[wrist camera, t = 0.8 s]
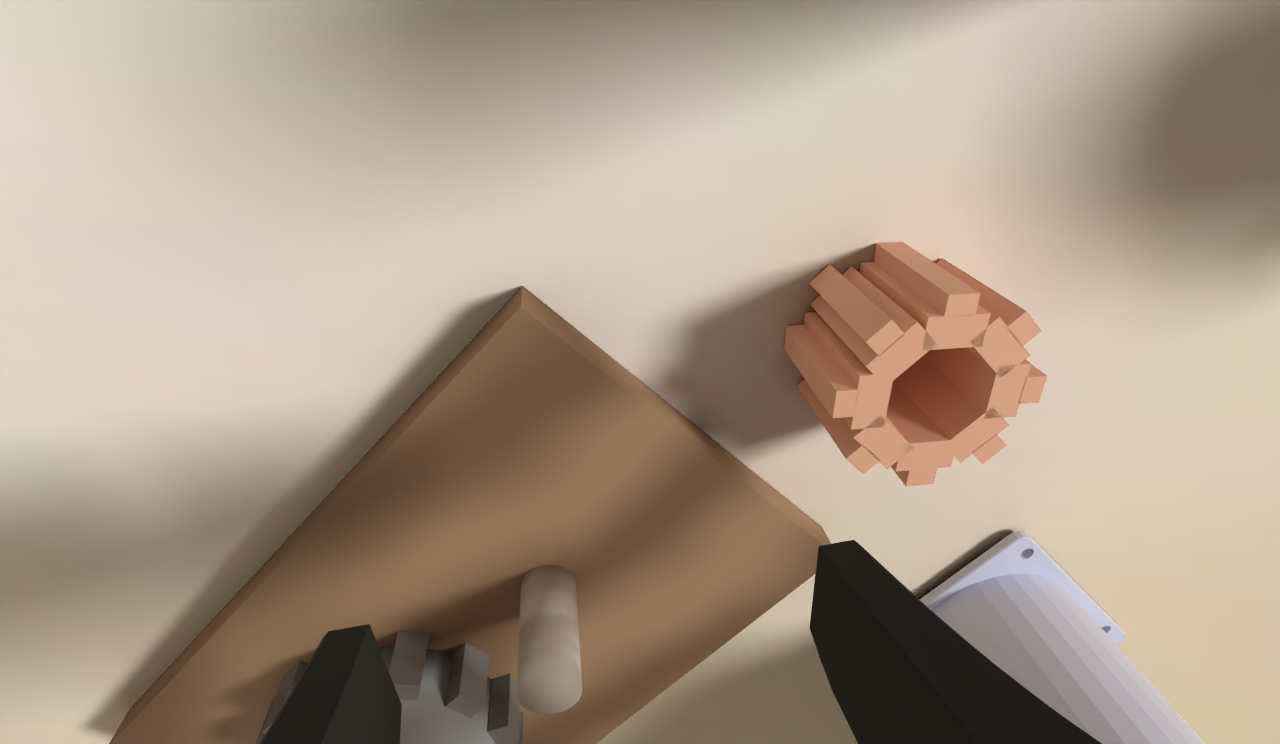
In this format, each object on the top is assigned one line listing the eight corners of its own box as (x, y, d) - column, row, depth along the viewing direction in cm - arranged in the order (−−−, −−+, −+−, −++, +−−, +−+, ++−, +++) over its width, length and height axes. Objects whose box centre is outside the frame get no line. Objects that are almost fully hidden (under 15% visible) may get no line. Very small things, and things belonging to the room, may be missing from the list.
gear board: (822, 526, 25) (889, 653, 20) (446, 825, 30) (428, 979, 26) (522, 285, 19) (515, 381, 14) (128, 711, 25) (28, 882, 20)
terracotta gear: (996, 324, 21) (1084, 386, 18) (855, 439, 23) (911, 518, 19) (896, 202, 19) (975, 245, 16) (747, 340, 21) (789, 408, 17)
